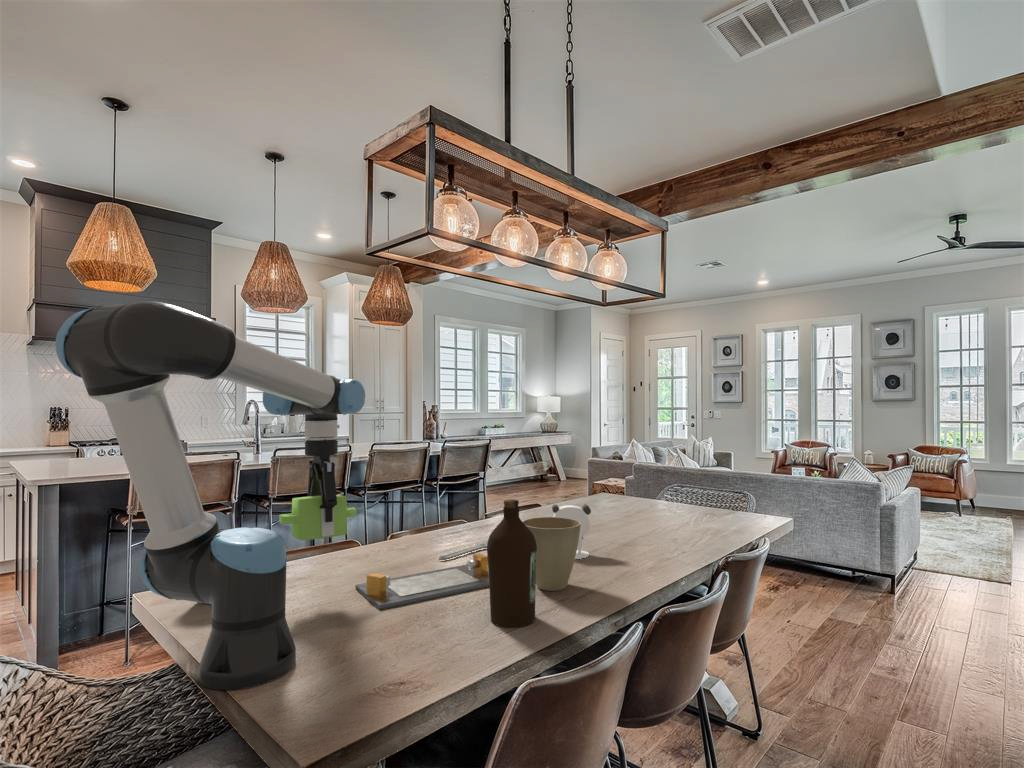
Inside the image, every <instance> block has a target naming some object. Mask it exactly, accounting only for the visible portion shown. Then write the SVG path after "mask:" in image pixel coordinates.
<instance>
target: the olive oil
mask: <svg viewBox="0 0 1024 768" xmlns="http://www.w3.org/2000/svg"><path fill="white" fill-rule="evenodd" d="M502 512H503V518H502V520H501V521H500V522H499V523H498V525H497V526H496V527H494V529H493V530H492V531H491V533H490V534H489V537H488V539H487V541H488V543H487V549H486V556H487V557H488V572H489V587H488V588H489V607H490V621H491V623H493V624H494V625H496V626H498V627H503V628H511V629H513V628H514V629H515V628H522V627H527V626H529V625H531V624H533V623H534V622H535V620H536V589H537V585H536V559H537V544H536V540H535V537H534V535H533V533H532V532H531V530H530V529H529V528H528V527H527V526H526V525H525V524H524V523H523V522H522V521H523V520H522V519H521V518H520V506H519V500H518V499H513V498H509V499H504V500H503V511H502Z"/></svg>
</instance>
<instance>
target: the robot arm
mask: <svg viewBox="0 0 1024 768" xmlns="http://www.w3.org/2000/svg"><path fill="white" fill-rule="evenodd" d="M55 353H56V355H57V358H58V360H59V362H60V364H61V365H62V366H63V368H64V369H65V370H66V371H67V372H69V373H71V374H73V376H76V377H78V378H81V379H82V381H83V385H84V387H85V389H86V393H87V395H88V397H89V398H90V399H93V400H96V402H97V401H98V402H99V403H102V404H103V405H104V407H105V410H106V413H107V415H108V418H109V420H110V424H111V427H112V430H113V432H114V435H115V437H116V440H117V443H118V445H119V448H120V452H121V454H122V457H123V460H124V462H125V465H126V468H127V471H128V473H129V476H130V479H131V481H132V485H133V486H134V490H135V492H136V495H137V497H138V498H137V499H138V501H139V503H140V507H141V510H142V513H143V515H144V517H145V519H146V523H147V525H148V529H149V533H148V534H147V535H146V536H145V538H144V540H143V544H144V545H143V546H144V551H143V553H142V555H143V558H142V559H141V560H140V563H139V564H140V565H139V571H140V573H139V574H140V577H141V580H142V582H143V583H144V585H145V587H146V588H147V589H148V590H150V591H151V592H152V593H154V594H155V595H158V596H161V597H164V598H166V599H168V600H175V601H185V602H186V601H188V602H193V603H194V602H195V603H199V604H203V603H206V605H211V627H210V628H211V630H210V634H209V636H208V639H207V643H206V645H205V648H204V650H203V654H202V656H201V659H200V663H199V665H198V666H199V667H198V681H199V684H200V685H202V686H203V687H205V688H208V689H212V690H217V691H218V690H219V691H233V690H234V691H235V690H241V689H248V688H252V687H257V686H260V685H264V684H265V683H270V682H272V681H275V680H277V679H279V678H280V677H282V676H284V675H285V674H287V673H288V672H289V671H290V670H292V669H293V667H294V666H295V665H296V661H297V656H296V655H297V654H296V653H297V652H296V651H297V650H296V644H295V642H294V638H293V636H292V634H291V630H290V626H289V624H288V622H287V619H286V597H287V596H286V593H287V592H286V591H287V589H286V588H287V584H286V583H287V561H288V559H287V558H288V555H287V552H286V551H287V550H286V542H285V538H284V536H283V535H282V534H281V533H279V532H277V531H275V530H272V529H267V528H263V527H262V528H261V527H251V528H250V527H234V528H229V529H225V530H222V531H221V528H220V526H219V524H218V523H219V522H218V520H217V517H216V515H214V514H213V513H210V512H207V511H204V507H203V504H202V502H201V498H200V495H199V493H198V489H197V486H196V484H195V481H194V478H193V475H192V472H191V469H190V466H189V463H188V460H187V457H186V454H185V450H184V448H183V445H182V442H181V438H180V435H179V432H178V430H177V427H176V426H177V425H176V424H175V421H174V417H173V414H172V411H171V409H170V408H171V407H170V406H169V402H168V399H167V396H166V393H165V391H164V389H165V387H166V385H167V383H168V382H169V381H170V379H171V375H182V376H183V375H184V376H191V377H196V378H199V379H203V380H206V381H210V380H211V381H212V380H216V379H217V378H220V379H223V380H225V381H229V382H232V383H235V384H238V385H241V386H245V387H248V388H251V389H254V390H257V391H259V392H262V406H263V407H264V409H265V410H266V411H267V412H268V413H269V414H271V415H274V416H275V415H276V416H281V417H282V416H300V415H301V416H304V437H305V439H307V440H305V441H304V455H305V456H307V457H313V458H312V459H309V460H308V464H309V465H308V479H307V480H308V484H307V496H306V497H309V496H321V497H322V504H323V505H320V509H321V536H322V537H324V536H331V535H334V507H335V505H337V496H336V495H337V487H336V475H335V470H336V469H335V468H336V464H335V462H331V456H336V455H338V453H339V452H338V451H339V447H338V445H339V443H338V442H339V440H337V439H336V438H337V437H338V429H340V428H341V426H340V424H338V419H339V418H338V415H343V416H346V415H349V414H351V415H352V414H357V413H359V412H360V411H361V410H362V409H363V407H364V406H365V401H366V391H365V387H364V386H363V385H364V384H362V383H361V382H360V381H359V380H357V379H353V378H351V379H349V378H344V379H340V378H337V377H336V376H335V375H331V374H326V373H324V372H322V371H320V370H317V369H314V368H312V367H310V366H309V365H308V366H307V365H305V364H303V363H300V362H298V361H296V360H293V359H290V358H288V357H286V356H283V355H281V354H279V353H276V352H274V351H271V350H269V349H267V348H264V347H262V346H259V345H258V344H255V343H252V342H250V341H248V340H245V339H243V338H240V337H238V336H237V334H236V333H235V331H234V330H233V328H231V327H230V326H228V325H225V324H223V323H221V322H219V321H216V320H214V319H211V318H209V317H207V316H204V315H201V314H199V313H196V312H193V311H191V310H189V309H186V308H182V307H180V306H177V305H174V304H170V303H166V302H162V301H161V302H160V301H153V300H152V301H151V300H144V301H143V300H142V301H134V302H129V303H121V304H111V305H100V306H99V305H97V306H94V307H90V308H87V309H84V310H80V311H78V312H76V313H73V314H72V315H70V316H69V317H68V318H67V319H66V320H65V321H64V322H63V324H62V325H61V327H60V328H59V329H58V331H57V334H56V338H55Z"/></svg>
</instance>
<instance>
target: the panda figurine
mask: <svg viewBox="0 0 1024 768" xmlns="http://www.w3.org/2000/svg"><path fill="white" fill-rule="evenodd" d="M551 508H552V509H551V510H552V513H553V516H552V517H560V518H569V519H574V520H577V521H579V522H580V523H581V526H580V534H579V541H578V547H577V552H576V556H575V559H580V560H583V559H582V558H585V559H587V558H589V557H590V553H589V552H588V551H585V550H583V549H582V542H583V540H584V536H586V534H587V533H588V531H589V530H590V527H591V522H590V519H589V516H588V515H591V513H592V509H591V508H590V506H589V505H588V504H583V505H582V506H581V507H580V506H577V505H571V504H569V505H562V506H559V505H558V504H553V505H552V507H551ZM588 556H589V557H588ZM586 557H587V558H586Z"/></svg>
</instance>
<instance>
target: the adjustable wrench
mask: <svg viewBox="0 0 1024 768" xmlns="http://www.w3.org/2000/svg"><path fill="white" fill-rule="evenodd" d="M487 543H488V540H484V541H480V542H477V543H476V545H475V546H471V547H468V548H464V549H461V550H457V551H454V552H450V553H447V554H444V555H441V556H439V557H438V561H439V560H446V559H450V558H453V557H456V556H459V555H462V554H465V553H468V552H472V551H475V550H478V549H481V548H487Z"/></svg>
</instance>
